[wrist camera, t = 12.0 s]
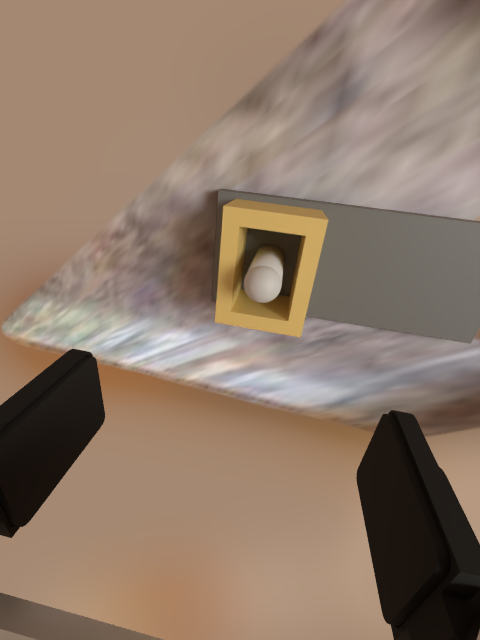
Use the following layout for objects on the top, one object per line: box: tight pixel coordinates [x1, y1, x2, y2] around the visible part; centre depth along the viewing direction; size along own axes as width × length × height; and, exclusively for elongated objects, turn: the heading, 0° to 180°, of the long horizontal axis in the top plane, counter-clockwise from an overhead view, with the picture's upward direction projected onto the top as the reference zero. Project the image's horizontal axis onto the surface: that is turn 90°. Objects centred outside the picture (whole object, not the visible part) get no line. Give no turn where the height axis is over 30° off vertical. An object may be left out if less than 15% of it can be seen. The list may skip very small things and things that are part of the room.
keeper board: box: [211, 189, 480, 343], centre depth 23 cm, size 24×10×9 cm, turn 84°
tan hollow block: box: [215, 199, 328, 337], centre depth 24 cm, size 7×9×5 cm
